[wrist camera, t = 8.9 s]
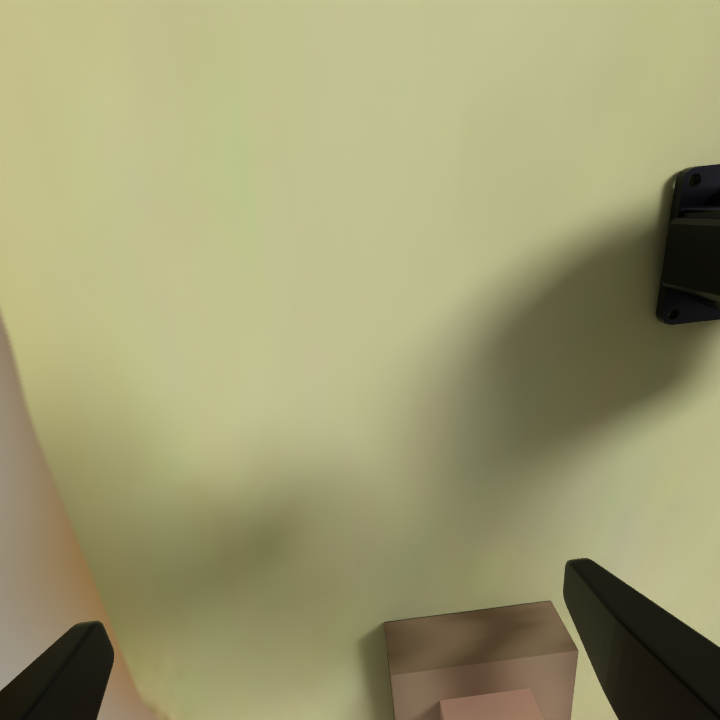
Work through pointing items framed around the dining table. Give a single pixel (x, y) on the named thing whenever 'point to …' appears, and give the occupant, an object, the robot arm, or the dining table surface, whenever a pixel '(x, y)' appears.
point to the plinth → (481, 659)
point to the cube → (492, 707)
